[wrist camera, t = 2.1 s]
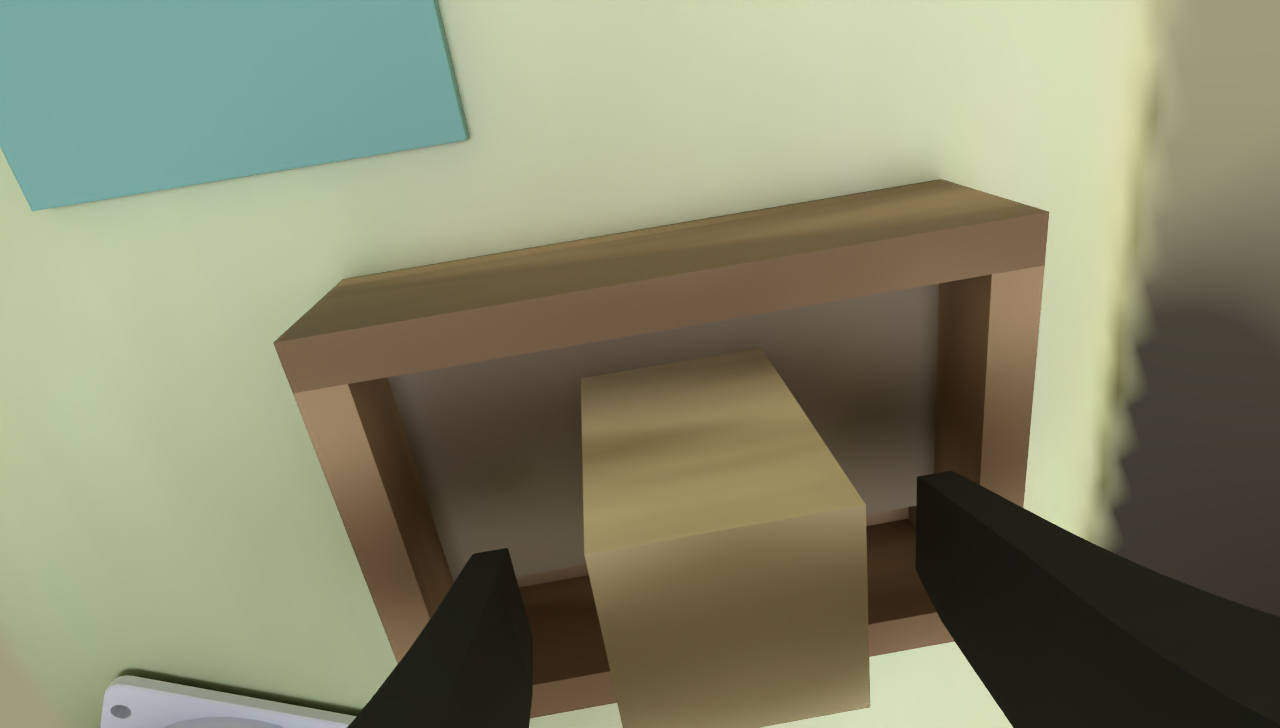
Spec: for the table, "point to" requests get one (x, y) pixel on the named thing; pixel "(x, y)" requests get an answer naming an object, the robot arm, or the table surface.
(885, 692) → the table surface
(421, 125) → the teal mat
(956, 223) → the walnut crate
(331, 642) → the table surface
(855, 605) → the maple block
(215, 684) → the table surface
